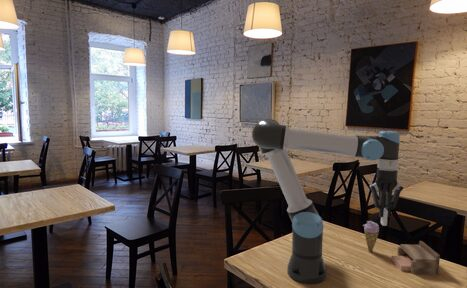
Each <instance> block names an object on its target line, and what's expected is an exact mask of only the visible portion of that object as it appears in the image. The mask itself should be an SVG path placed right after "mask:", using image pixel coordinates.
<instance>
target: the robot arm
mask: <svg viewBox="0 0 467 288" xmlns="http://www.w3.org/2000/svg"><path fill="white" fill-rule="evenodd" d="M251 137H252V140H253V142H254V144H255V145H256V146H257V147H259V149H260V151H261V154H262V155H264V156H266V157H267V158H268V160H269V163H270V165H271V168H272V170H273V173H274V175H275V177H276V180H277V182H278V184H279V187H280V189H281V191H282V194H283V196H284V198H285V200H286V203H287V205H288V207H287V209H286V211H287V214H288V216H289V218H290V221H291V223H292V224H291V228H292V231H291V232H292V234H291V235H292V241H291V242H292V243H291V245H292V246H291V249H292V250H291V251H292V252H291V255H290V258H289V261H288V262H287V263H288V264H287V266H286V267H287V268H286V269H287V274H289V275H288V277H290V278H291V277H292V278H291V279H292V280H294V279H295V281H296V280H297V282H299V281H300V282H299V283H302V282H304V284H318V283H321V282H323V281H325V280H326V278H327V268H326V265H325V262H324V258H323V236H324V235H323V234H324V233H323V232H324V221H323V218H322V217H321V216H320V215H319V212H318V211H317V209H316V208H315V205H314V203H313V201H312V199H308V198H307V196H306V193H305V191H304V189H303V187H302V184H301V182H300V179H299V176H298V174H297V172H296V169H295V167H294V165H293V162H292V160H291V158H290V156H289V154H288V151H287V149H293V150H303V151H309V152H317V153H324V154H332V155H340V156H347V157H355V158H361V159H366V160H368V161H377V166H376V168H377V169H376V179H375V182H374V183H372V184H369V186H368V187H369V188H370V190H371V193H372V200H373V203H374V207H375V208H376V209H378V216H379V217H380V224H381V225H382V227H383V226H384V227H385V226H386V227H387V226H388V218H390V216H391V214H390V213H391V211H392V210H395V209H396V207H397V204H398V201H399V198H400V194H401V193H402V191H403V190H404V187H403V186H402V185H400V184H399V182H398V168H399V167H398V166H399V154H400V143H401V141H400V140H401V139H400V138H401V137H400V133H399V132H398V131H395V130H394V131H391V130H381V131H379V132H378V135H358V134H357V135H344V134H336V133H330V132H329V133H328V132H319V131H314V130H304V129H296V128H290V127H289V126H288V125H284V124H280V123H279V122H278V121H277V120H274V119H271V118H266V119H262V120H260V121H258V122H257V123H256V124H255V125H254V127H253V129H252V131H251ZM377 188H378V190H379V194H378V192H377ZM393 190H394V192H393ZM378 195H379V197H378Z"/></svg>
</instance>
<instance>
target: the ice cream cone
mask: <svg viewBox="0 0 467 288" xmlns="http://www.w3.org/2000/svg"><path fill="white" fill-rule="evenodd" d="M362 227H363V228H364V236H365V241H366V246H367V249H368V252H369V253H372V252H373V251H374V247H375V245H376V242H377V240H378V236H379V231H380V227H379V224H378V223H377V222H374V221H372V220H367V221H366V223H365V224H363V225H362Z"/></svg>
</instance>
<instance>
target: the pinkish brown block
mask: <svg viewBox="0 0 467 288" xmlns="http://www.w3.org/2000/svg"><path fill="white" fill-rule="evenodd" d="M390 260H391V261H392V262H393V264H394V265H395V266H396V268H398V269H399V270H400V271H402V272H411V260H413V259H412V258H411V257H410V256H397V255H391V259H390Z"/></svg>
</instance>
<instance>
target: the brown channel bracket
mask: <svg viewBox="0 0 467 288" xmlns="http://www.w3.org/2000/svg"><path fill="white" fill-rule="evenodd" d="M396 256H410V257H411V258H412V259H413V260H411V271H410V273H411V274H413V275H414V274H415V275H435V276H437V275H438V276H439V274H440V273H439V272H440V261H441V260H440V258H441V255H440V254H439V253H438V252H436V251H435V250H434V249H433V248H431V247H430V246H429V245H428V244H427V243H425V242H424V241H423V240H419V241H418V244H405V243H404V244H403V243H402V244H401V243H400V245H399V246H397V255H396Z"/></svg>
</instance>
